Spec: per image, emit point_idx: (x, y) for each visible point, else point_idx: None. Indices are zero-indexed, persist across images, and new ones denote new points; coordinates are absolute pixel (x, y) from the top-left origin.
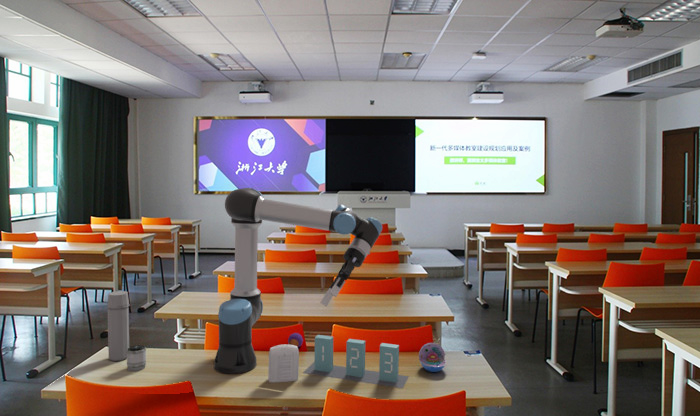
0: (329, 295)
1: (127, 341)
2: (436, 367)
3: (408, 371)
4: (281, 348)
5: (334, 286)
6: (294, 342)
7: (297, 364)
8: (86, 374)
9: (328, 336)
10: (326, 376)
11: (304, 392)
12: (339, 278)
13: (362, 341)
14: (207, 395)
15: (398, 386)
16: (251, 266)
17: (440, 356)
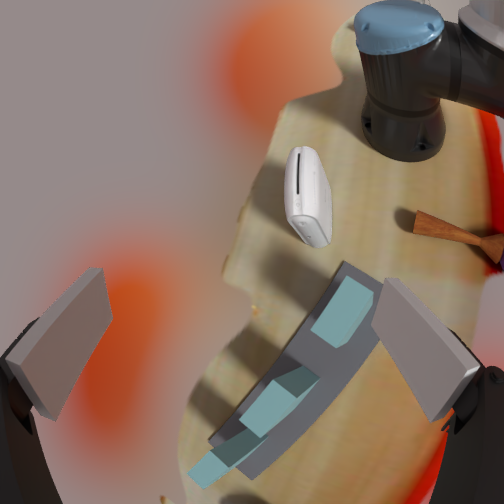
0: (415, 357)
1: None
2: None
3: (280, 493)
4: (286, 170)
5: (62, 304)
6: (494, 247)
7: (296, 231)
8: None
9: (343, 330)
10: (309, 316)
11: (252, 254)
12: (15, 360)
13: (257, 427)
14: (285, 108)
15: (216, 439)
16: None
17: None
